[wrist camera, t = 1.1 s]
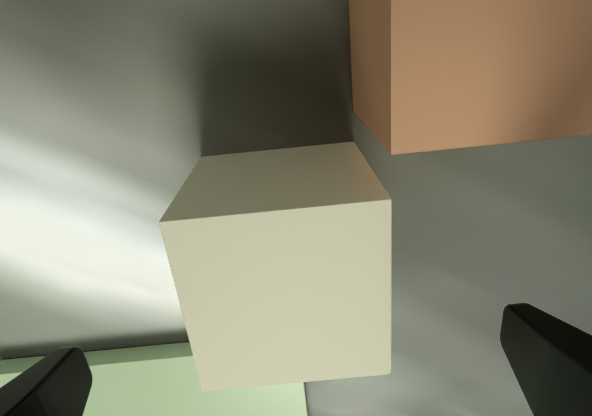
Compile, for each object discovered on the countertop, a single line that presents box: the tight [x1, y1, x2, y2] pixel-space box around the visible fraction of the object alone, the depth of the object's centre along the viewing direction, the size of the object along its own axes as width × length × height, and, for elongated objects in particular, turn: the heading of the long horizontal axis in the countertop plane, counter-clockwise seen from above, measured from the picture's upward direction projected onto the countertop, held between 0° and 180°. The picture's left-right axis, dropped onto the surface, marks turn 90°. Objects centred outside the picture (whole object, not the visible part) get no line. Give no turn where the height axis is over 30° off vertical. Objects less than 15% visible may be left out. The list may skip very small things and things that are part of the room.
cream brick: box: [159, 142, 391, 392], centre depth 12 cm, size 5×5×5 cm
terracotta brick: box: [349, 0, 592, 155], centre depth 9 cm, size 5×5×5 cm
